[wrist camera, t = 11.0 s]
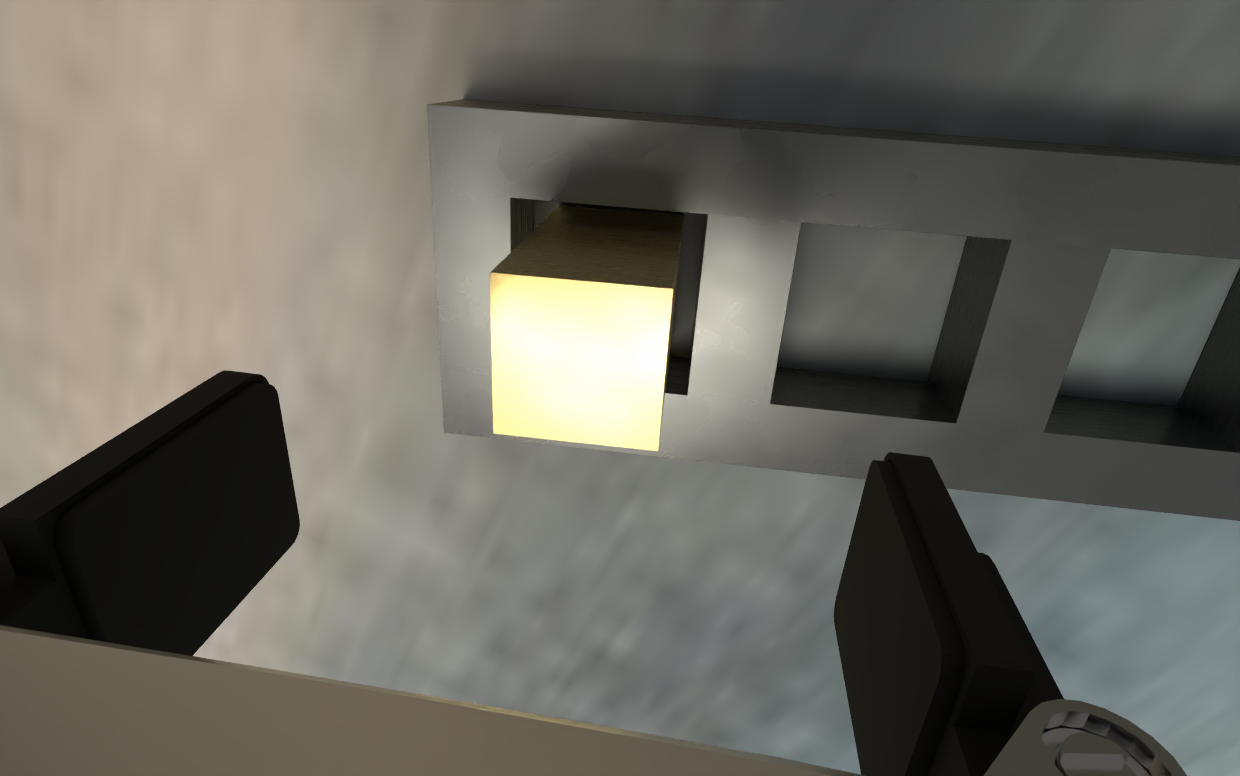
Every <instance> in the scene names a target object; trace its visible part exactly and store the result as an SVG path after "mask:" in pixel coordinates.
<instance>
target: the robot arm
mask: <svg viewBox="0 0 1240 776" xmlns="http://www.w3.org/2000/svg"><path fill="white" fill-rule="evenodd" d="M299 526H300V521H299V514H298V508H297V503H296V497H295V491H294V485H293V479H292V473H291V468H290V462H289V456H288V450H287V444H286V438H285V432H284V427H283V421H282V415H281V409H280V403H279V397H278V393H277V390H276V389H275V387H274V386H272V385H269V382H268V381H267V379H266V378H265V377H264V376H262V375H259V374H251V373H243V372H235V371H222V372H220V373H218V374H216V375H215V376H213V377H211V378H210V379H208V380H206V381H205V382H203V383H202V384H200V385H198V386H197V387H195V388H194V389H192V390H190V391H189V392H187V393H185V394H184V395H182V396H181V397H179V398H177V399H176V400H174V401H173V402H171V403H169V404H168V405H166V406H164V407H163V408H161V409H160V410H158V411H156V412H155V413H153V414H152V415H150V416H148V417H147V418H145V419H143V420H142V421H140V422H139V423H137V424H135V425H134V426H132V427H131V428H129V429H127V430H126V431H124V432H122V433H121V434H119V435H118V436H116V437H114V438H113V439H111V440H110V441H108V442H106V443H105V444H103V445H101V446H100V447H98V448H97V449H95V450H93V451H92V452H90V453H89V454H87V455H85V456H84V457H82V458H80V459H79V460H77V461H76V462H74V463H72V464H71V465H69V466H67V467H66V468H64V469H63V470H61V471H59V472H58V473H56V474H55V475H53V476H51V477H50V478H48V479H46V480H45V481H43V482H42V483H40V484H38V485H37V486H35V487H34V488H32V489H30V490H29V491H27V492H25V493H24V494H22V495H21V496H19V497H17V498H16V499H14V500H13V501H11V502H9V503H8V504H6V505H4V506H3V507H1V508H0V776H1187V775H1186V774H1185V772H1184V771H1183V769H1182V768H1181V767H1180V765H1179V764H1178V762H1177V761H1176V760H1175V758H1174V757H1173V756H1172V755H1171V754H1170V753H1169V752H1168V751H1167V750H1166V749H1165V748H1164V747H1163V746H1162V745H1161V744H1159V743H1158V742H1157V741H1156V740H1155V739H1154V738H1153V737H1152V736H1150V735H1149V734H1148V733H1146V732H1145V731H1143V730H1142V729H1140V728H1139V727H1137V726H1136V725H1135V724H1133V723H1132V722H1130V721H1129V720H1127V719H1125V718H1123V717H1121V716H1119V715H1117V714H1115V713H1113V712H1111V711H1109V710H1107V709H1105V708H1102V707H1098V706H1095V705H1092V704H1089V703H1085V702H1082V701H1076V700H1065V699H1064V698H1063V696H1062V694H1061V692H1060V691H1059V689H1058V687H1057V685H1056V683H1055V681H1054V679H1053V677H1052V675H1051V673H1050V671H1049V669H1048V667H1047V665H1046V663H1045V661H1044V659H1043V657H1042V655H1041V654H1040V652H1039V650H1038V648H1037V646H1036V644H1035V642H1034V640H1033V638H1032V636H1031V634H1030V632H1029V630H1028V628H1027V626H1026V624H1025V622H1024V620H1023V618H1022V617H1021V615H1020V613H1019V611H1018V609H1017V607H1016V605H1015V603H1014V601H1013V599H1012V597H1011V595H1010V593H1009V591H1008V589H1007V587H1006V585H1005V583H1004V581H1003V580H1002V578H1001V576H1000V574H999V572H998V570H997V568H996V566H995V564H994V562H993V561H992V560H991V558H990V557H989V556H988V555H986V554H984V553H978V552H977V550H976V548H975V546H974V544H973V542H972V540H971V538H970V536H969V534H968V532H967V530H966V528H965V526H964V524H963V522H962V520H961V518H960V516H959V514H958V512H957V509H956V507H955V505H954V503H953V501H952V499H951V497H950V495H949V493H948V491H947V489H946V487H945V485H944V483H943V481H942V479H941V477H940V475H939V473H938V471H937V469H936V467H935V465H934V463H933V461H932V459H931V458H930V457H926V456H918V455H910V454H901V453H893V452H889V453H888V454H887V455H886V456H885V458H884V461H879V460H873V461H872V462H871V464H870V467H869V470H868V474H867V478H866V482H865V486H864V490H863V494H862V498H861V502H860V506H859V510H858V514H857V518H856V522H855V525H854V529H853V533H852V537H851V541H850V545H849V549H848V553H847V557H846V561H845V565H844V569H843V573H842V577H841V580H840V584H839V588H838V592H837V596H836V601H835V608H834V623H835V630H836V635H837V641H838V646H839V652H840V658H841V663H842V669H843V674H844V680H845V686H846V691H847V697H848V702H849V708H850V714H851V719H852V725H853V731H854V736H855V742H856V747H857V753H858V759H859V764H860V770H861V775H859V774H855V773H850V772H845V771H841V770H836V769H831V768H826V767H822V766H817V765H812V764H808V763H803V762H798V761H794V760H789V759H784V758H780V757H774V756H768V755H762V754H756V753H750V752H745V751H739V750H733V749H728V748H723V747H718V746H712V745H707V744H702V743H696V742H691V741H686V740H680V739H674V738H668V737H663V736H657V735H651V734H646V733H640V732H634V731H629V730H623V729H617V728H611V727H606V726H600V725H594V724H589V723H583V722H577V721H572V720H566V719H560V718H554V717H549V716H543V715H537V714H532V713H526V712H520V711H515V710H509V709H503V708H497V707H492V706H486V705H480V704H474V703H468V702H462V701H457V700H451V699H445V698H439V697H433V696H427V695H421V694H416V693H410V692H404V691H398V690H392V689H386V688H380V687H374V686H369V685H363V684H357V683H351V682H345V681H339V680H333V679H327V678H321V677H315V676H309V675H303V674H297V673H291V672H285V671H279V670H273V669H267V668H262V667H255V666H249V665H243V664H237V663H231V662H225V661H219V660H212V659H206V658H200V657H194V656H193V655H194V654H195V652H196V651H197V650H198V649H199V648H200V647H201V646H202V645H203V644H204V642H205V641H206V640H207V639H208V638H209V637H210V636H211V635H212V634H213V632H214V631H215V630H216V629H217V628H218V627H219V626H220V625H221V623H222V622H223V621H224V620H225V619H226V618H227V617H228V616H229V615H230V613H231V612H232V611H233V610H234V609H235V608H236V607H237V606H238V605H239V603H240V602H241V601H242V600H243V599H244V598H245V597H246V596H247V595H248V593H249V592H250V591H251V590H252V589H253V588H254V587H255V586H256V585H257V583H258V582H259V581H260V580H261V579H262V578H263V577H264V576H265V575H266V573H267V572H268V571H269V570H270V569H271V568H272V567H273V566H274V565H275V563H276V562H277V561H278V560H279V559H280V558H281V557H282V556H283V555H284V553H285V552H286V551H287V550H288V549H289V548H290V547H291V546H292V544H293V543H294V542H295V540H296V538H297V535H298V532H299Z"/></svg>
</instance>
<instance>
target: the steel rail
mask: <svg viewBox="0 0 1240 776" xmlns="http://www.w3.org/2000/svg"><path fill="white" fill-rule="evenodd" d="M427 109H428V129H429V148H430V168H431V187H432V206H433V226H434V245H435V265H436V284H437V303H438V323H439V342H440V362H441V381H442V401H443V420H444V433H452V434H461V435H470V436H479V437H488V438H497V439H506V440H515V441H524V442H533V443H542V444H551V445H560V446H569V447H578V448H587V449H597V450H606V451H615V452H624V453H633V454H642V455H651V456H660V457H669V458H678V459H687V460H696V461H705V462H714V463H723V464H732V465H741V466H750V467H759V468H768V469H777V470H786V471H795V472H804V473H813V474H822V475H831V476H840V477H849V478H858V479H866V478H867V474H868V470H869V467H870V464H871V462H872V461H873V460H879V461H884V458H885V456H886V455H887V454H888V453H889V452H893V453H901V454H910V455H918V456H926V457H930V458H931V459H932V461H933V463H934V465H935V467H936V469H937V471H938V473H939V475H940V477H941V479H942V481H943V483H944V485H945V487H946V488H948V489H958V490H967V491H976V492H985V493H994V494H1003V495H1012V496H1021V497H1030V498H1039V499H1048V500H1057V501H1066V502H1075V503H1084V504H1093V505H1102V506H1111V507H1120V508H1129V509H1138V510H1147V511H1156V512H1165V513H1174V514H1183V515H1192V516H1201V517H1210V518H1219V519H1228V520H1237V521H1240V270H1239V272H1238V275H1237V277H1236V279H1235V281H1234V284H1233V286H1232V288H1231V290H1230V292H1229V295H1228V297H1227V299H1226V301H1225V304H1224V306H1223V308H1222V310H1221V312H1220V315H1219V317H1218V319H1217V321H1216V323H1215V326H1214V328H1213V330H1212V332H1211V335H1210V337H1209V339H1208V341H1207V343H1206V346H1205V348H1204V350H1203V352H1202V355H1201V357H1200V359H1199V361H1198V363H1197V366H1196V368H1195V370H1194V372H1193V375H1192V377H1191V379H1190V381H1189V383H1188V386H1187V388H1186V390H1185V392H1184V395H1183V397H1182V399H1181V401H1180V403H1179V406H1178V407H1172V406H1162V405H1152V404H1142V403H1132V402H1122V401H1112V400H1102V399H1092V398H1082V397H1072V396H1062V395H1057V394H1058V391H1059V389H1060V386H1061V383H1062V380H1063V378H1064V375H1065V372H1066V369H1067V367H1068V364H1069V361H1070V358H1071V356H1072V353H1073V350H1074V347H1075V345H1076V342H1077V339H1078V337H1079V334H1080V331H1081V328H1082V326H1083V323H1084V320H1085V317H1086V315H1087V312H1088V309H1089V306H1090V304H1091V301H1092V298H1093V295H1094V293H1095V290H1096V287H1097V284H1098V282H1099V279H1100V276H1101V274H1102V271H1103V268H1104V265H1105V263H1106V260H1107V257H1108V254H1109V252H1110V249H1111V248H1113V249H1125V250H1137V251H1149V252H1161V253H1173V254H1184V255H1196V256H1208V257H1220V258H1232V259H1240V157H1231V156H1217V155H1204V154H1190V153H1177V152H1164V151H1150V150H1137V149H1123V148H1110V147H1096V146H1083V145H1069V144H1056V143H1043V142H1029V141H1016V140H1002V139H989V138H975V137H962V136H948V135H935V134H921V133H908V132H895V131H881V130H868V129H854V128H841V127H827V126H814V125H800V124H787V123H774V122H760V121H747V120H733V119H720V118H706V117H693V116H679V115H666V114H653V113H639V112H626V111H612V110H599V109H585V108H572V107H558V106H545V105H531V104H518V103H505V102H491V101H478V100H464V99H462V100H455V101H448V102H442V103H435V104H428V105H427ZM534 200H546V201H558V202H570V203H581V204H593V205H605V206H617V207H629V208H641V209H652V210H664V211H676V212H688V213H700V214H706V218H705V226H704V235H703V244H702V253H701V262H700V271H699V279H698V288H697V297H696V306H695V315H694V324H693V332H692V341H691V350H690V358H682V357H672V356H670V360H669V368H668V376H667V383H666V391H665V399H664V407H663V415H662V423H661V431H660V439H659V447H658V451H653V450H644V449H634V448H625V447H616V446H606V445H597V444H588V443H578V442H569V441H560V440H550V439H541V438H532V437H522V436H513V435H504V434H494V433H493V394H492V348H491V303H490V272H491V271H492V270H493V269H494V268H495V267H496V266H497V265H498V264H499V263H500V262H501V261H502V260H503V259H504V258H506V257H507V256H508V255H509V254H510V253H511V252H512V251H513V250H514V249H515V248H516V247H517V246H518V245H519V244H520V243H521V242H522V241H523V240H524V239H525V238H526V237H527V236H528V235H529V234H530V233H531V232H532V231H533V230H534ZM801 222H806V223H818V224H830V225H842V226H853V227H865V228H877V229H889V230H901V231H913V232H924V233H936V234H948V235H960V236H968V237H967V240H966V244H965V248H964V251H963V255H962V259H961V262H960V266H959V269H958V273H957V277H956V280H955V284H954V288H953V291H952V295H951V299H950V302H949V306H948V309H947V313H946V317H945V320H944V324H943V328H942V331H941V335H940V339H939V342H938V346H937V349H936V353H935V357H934V360H933V364H932V368H931V371H930V375H929V379H928V382H922V381H912V380H902V379H892V378H882V377H872V376H862V375H852V374H842V373H832V372H822V371H812V370H802V369H792V368H782V367H776V365H777V360H778V354H779V348H780V342H781V336H782V330H783V325H784V319H785V313H786V307H787V301H788V295H789V290H790V284H791V278H792V272H793V266H794V260H795V255H796V249H797V243H798V237H799V231H800V225H801Z"/></svg>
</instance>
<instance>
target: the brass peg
mask: <svg viewBox="0 0 1240 776" xmlns="http://www.w3.org/2000/svg"><path fill="white" fill-rule="evenodd" d="M683 222H684V215H673V214H661V213H649V212H636V211H624V210H612V209H599V208H587V207H575V206H562V205H559V206H558V207H557V208H556V209H555V210H554V211H553V212H552V213H551V214H550V215H549V216H548V217H547V218H546V219H545V220H544V221H543V222H542V223H541V224H540V225H539V226H538V227H537V228H536V229H535V230H533V231H532V232H531V233H530V234H529V235H528V236H527V237H526V238H525V239H524V240H523V241H522V242H521V243H520V244H519V245H518V246H517V247H516V248H515V249H514V250H513V251H512V252H511V253H510V254H509V255H508V256H507V257H506V258H504V259H503V260H502V261H501V262H500V263H499V264H498V265H497V266H496V267H495V268H494V269H493V270H492V271H491V272H490V303H491V348H492V394H493V433H494V434H504V435H513V436H522V437H532V438H541V439H550V440H560V441H569V442H578V443H588V444H597V445H606V446H616V447H625V448H634V449H644V450H653V451H658V447H659V439H660V431H661V423H662V415H663V407H664V399H665V391H666V383H667V376H668V368H669V360H670V352H671V344H672V336H673V327H674V316H675V306H676V295H677V285H678V274H679V264H680V254H681V243H682V233H683Z"/></svg>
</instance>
